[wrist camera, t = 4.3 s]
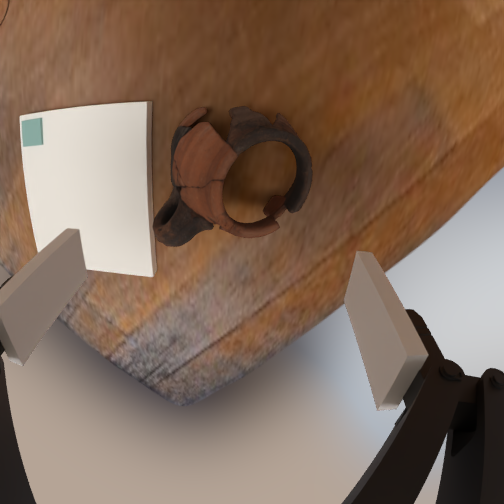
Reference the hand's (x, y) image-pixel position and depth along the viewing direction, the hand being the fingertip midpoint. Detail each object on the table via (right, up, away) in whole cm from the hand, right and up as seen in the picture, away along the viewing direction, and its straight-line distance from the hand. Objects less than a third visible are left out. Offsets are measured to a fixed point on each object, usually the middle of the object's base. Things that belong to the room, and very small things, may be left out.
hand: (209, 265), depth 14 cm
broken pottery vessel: (0, +7, +10) cm, 12 cm away
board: (-13, +6, +11) cm, 18 cm away
